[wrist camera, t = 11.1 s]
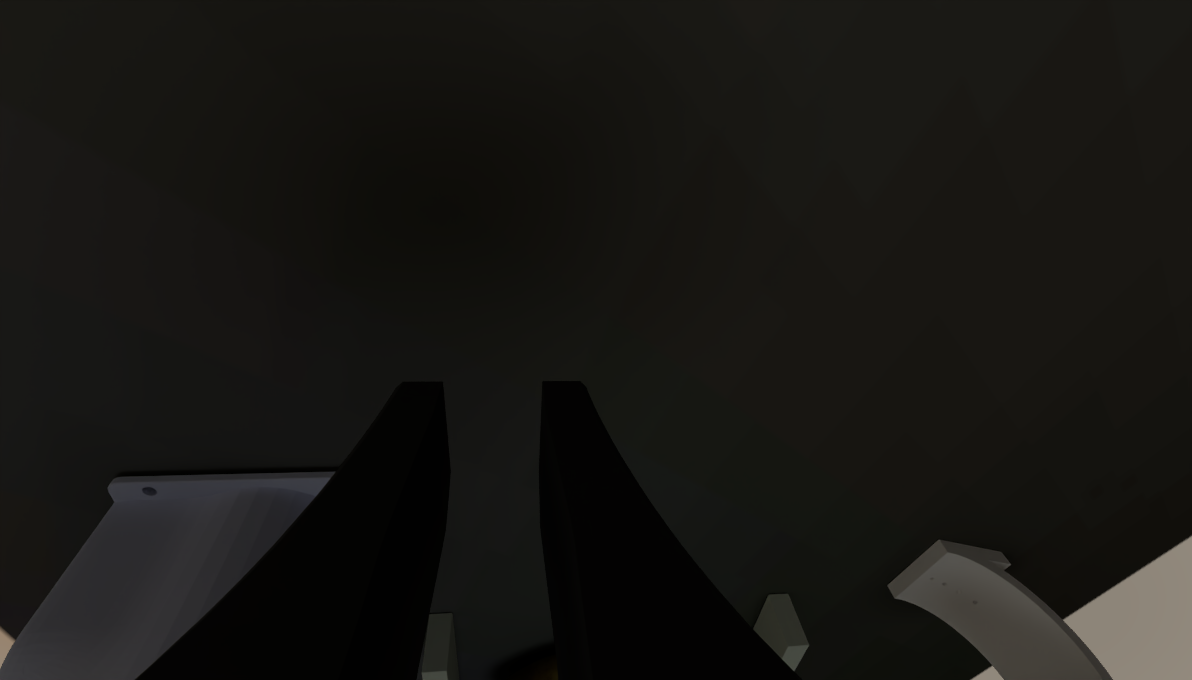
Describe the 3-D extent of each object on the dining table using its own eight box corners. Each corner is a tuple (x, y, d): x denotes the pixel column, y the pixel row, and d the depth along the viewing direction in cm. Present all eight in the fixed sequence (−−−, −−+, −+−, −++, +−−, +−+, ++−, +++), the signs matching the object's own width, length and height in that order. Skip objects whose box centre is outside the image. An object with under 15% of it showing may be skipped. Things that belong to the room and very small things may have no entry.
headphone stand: (938, 538, 32) (1124, 803, 22) (1013, 554, 34) (1215, 804, 24) (886, 585, 34) (1033, 843, 24) (959, 597, 36) (1123, 842, 26)
